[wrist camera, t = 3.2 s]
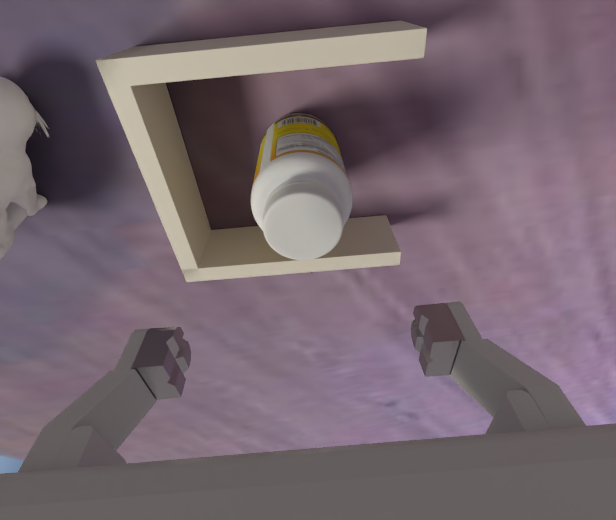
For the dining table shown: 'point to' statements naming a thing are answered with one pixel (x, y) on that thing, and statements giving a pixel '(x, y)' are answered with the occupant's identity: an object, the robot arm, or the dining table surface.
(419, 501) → the robot arm
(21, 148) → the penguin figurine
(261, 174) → the supplement bottle
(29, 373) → the dining table surface
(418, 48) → the beige u-shaped bracket
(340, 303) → the dining table surface
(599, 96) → the dining table surface
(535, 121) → the dining table surface
